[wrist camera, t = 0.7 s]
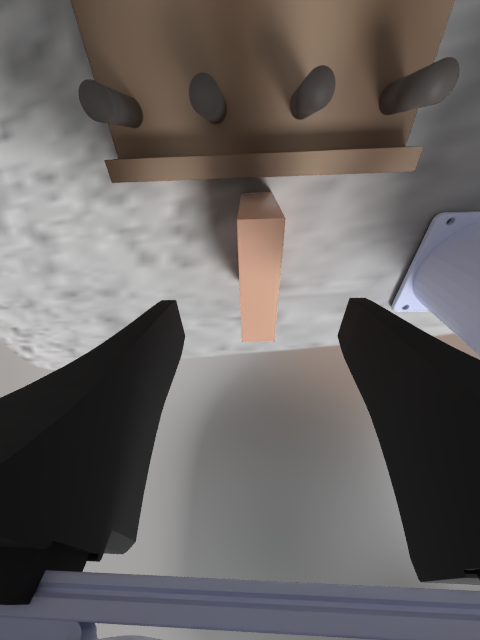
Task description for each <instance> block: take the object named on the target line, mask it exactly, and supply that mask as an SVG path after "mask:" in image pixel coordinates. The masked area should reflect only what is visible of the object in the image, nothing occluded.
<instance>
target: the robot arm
mask: <svg viewBox="0 0 480 640" xmlns="http://www.w3.org/2000/svg"><path fill="white" fill-rule="evenodd" d="M450 218H451V220H450V222H448V223H447V221H448V219H450ZM446 223H447V224H446ZM405 305H406V306H405ZM403 306H405V307H403ZM391 308H392V309H393V310H394V311H395V312H432V313H433V314H434V315H435V316H436V317H437V318H438V319H439V320H440V321H442V322H443V323H444V324H445V325H446V326H447V327H448V328H449V329H450V330H452V331H453V332H454V333H455V334H456V335H457V336H458V337H459V338H461V339H462V340H463V341H464V342H465V343H466V344H467V345H468V346H469V347H471V348H472V349H473V350H474V351H475V352H476V353H477V354H479V356H480V211H476V212H443V213H440V214H438V215H436V216H435V217H434V218H433V220H432V222H431V224H430V226H429V228H428V230H427V232H426V234H425V236H424V238H423V240H422V243H421V245H420V247H419V249H418V251H417V253H416V255H415V257H414V259H413V262H412V264H411V266H410V268H409V270H408V272H407V274H406V276H405V278H404V280H403V283H402V285H401V287H400V289H399V291H398V293H397V295H396V297H395V299H394V302H393V304H392V306H391ZM338 339H339V343H340V346H341V350H342V353H343V356H344V358H345V360H346V363H347V365H348V367H349V369H350V372H351V374H352V375H353V378H354V380H355V382H356V385H357V387H358V389H359V391H360V393H361V395H362V397H363V399H364V402H365V404H366V406H367V409H368V411H369V413H370V416H371V419H372V422H373V425H374V428H375V430H376V433H377V436H378V439H379V442H380V445H381V449H382V451H383V455H384V458H385V461H386V465H387V468H388V471H389V475H390V478H391V482H392V486H393V489H394V493H395V496H396V500H397V503H398V508H399V512H400V516H401V520H402V524H403V528H404V532H405V536H406V541H407V545H408V549H409V554H410V558H411V561H412V564H413V566H414V569H415V571H416V573H417V576H418V579H419V580H420V582H429V583H450V584H452V583H453V584H472V585H480V360H479V359H477V358H474V357H472V356H470V355H468V354H466V353H464V352H462V351H460V350H458V349H456V348H454V347H452V346H450V345H448V344H446V343H444V342H442V341H440V340H439V339H437V338H435V337H433V336H431V335H429V334H428V333H426V332H424V331H422V330H420V329H419V328H417V327H415V326H413V325H412V324H410V323H408V322H407V321H405V320H403V319H402V318H400V317H398V316H397V315H395V314H393V313H392V312H390V311H388V310H386V309H385V308H383V307H381V306H380V305H378V304H376V303H374V302H372V301H371V300H368V299H366V298H350V299H349V302H348V305H347V308H346V311H345V314H344V317H343V320H342V323H341V326H340V329H339V332H338ZM184 340H185V334H184V330H183V326H182V322H181V318H180V314H179V310H178V306H177V302H176V300H162V301H160V302H159V303H157V304H156V305H154V306H153V307H152V308H150V309H149V310H148V311H146V312H145V313H144V314H142V315H141V316H140V317H138V318H137V319H136V320H134V321H133V322H132V323H130V324H129V325H128V326H126V327H125V328H124V329H122V330H121V331H119V332H118V333H116V334H115V335H114V336H112V337H111V338H109V339H108V340H106V341H105V342H104V343H102V344H101V345H99V346H98V347H96V348H94V349H93V350H91V351H90V352H88V353H86V354H85V355H83V356H81V357H80V358H78V359H76V360H74V361H73V362H71V363H69V364H67V365H66V366H64V367H62V368H60V369H58V370H56V371H54V372H52V373H50V374H49V375H47V376H45V377H43V378H41V379H39V380H37V381H35V382H33V383H31V384H29V385H27V386H25V387H23V388H21V389H19V390H16V391H14V392H12V393H10V394H8V395H6V396H4V397H1V398H0V640H160V639H155V638H149V637H145V636H117V637H109V638H103V639H98V638H97V635H96V625H95V623H107V624H123V625H140V626H157V627H174V628H191V629H207V630H224V631H242V632H259V633H275V634H292V635H309V636H326V637H343V638H360V639H376V640H480V591H465V590H445V589H444V590H443V589H424V588H403V587H381V586H362V585H339V584H320V583H299V582H277V581H257V580H236V579H215V578H195V577H173V576H153V575H132V574H131V575H130V574H111V573H91V572H82V571H83V569H84V566H85V564H86V561H98V562H99V561H100V560H101V559H102V556H103V554H104V553H109V554H124V553H125V552H127V551H128V550H129V549H130V547H132V545H133V544H134V543H135V542H136V537H137V530H138V524H139V518H140V512H141V507H142V501H143V495H144V489H145V485H146V480H147V474H148V469H149V464H150V460H151V455H152V450H153V446H154V442H155V437H156V433H157V429H158V425H159V421H160V416H161V413H162V410H163V406H164V403H165V400H166V397H167V395H168V392H169V389H170V386H171V383H172V380H173V378H174V375H175V372H176V369H177V366H178V364H179V361H180V358H181V354H182V350H183V345H184Z"/></svg>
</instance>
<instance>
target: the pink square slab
mask: <svg viewBox="0 0 480 640" xmlns="http://www.w3.org/2000/svg"><path fill="white" fill-rule="evenodd" d="M284 228H285V217H284V215H283V213H282V211H281V209H280V207H279V205H278V203H277V201H276V199H275V198H274V196H273V194H272V192H258V193H241V199H240V204H239V210H238V216H237V236H238V260H239V285H240V309H241V334H242V342H275V332H276V320H277V309H278V297H279V286H280V274H281V263H282V251H283V240H284Z"/></svg>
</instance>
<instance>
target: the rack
mask: <svg viewBox="0 0 480 640" xmlns="http://www.w3.org/2000/svg"><path fill="white" fill-rule="evenodd" d="M454 1H455V0H71V3H72V7H73V10H74V13H75V16H76V20H77V23H78V26H79V30H80V33H81V36H82V39H83V43H84V46H85V49H86V53H87V56H88V59H89V63H90V66H91V69H92V72H93V76H94V79H95V81H93V80H85V81H83V82H82V83H81V85H80V87H79V99H80V103H81V105H82V107H83V109H84V111H85V112H86V113H87V115H88V116H89V117H91V118H92V119H93V120H95V121H98V122H103V123H108V125H109V128H110V132H111V135H112V138H113V142H114V145H115V148H116V151H117V155H118V158H119V159H114V160H104V161H105V163H106V166H107V169H108V172H109V175H110V178H111V181H112V183H120V182H146V181H172V180H199V179H225V178H251V177H277V176H304V175H330V174H356V173H383V172H409V171H415V168H416V165H417V163H418V160H419V157H420V155H421V152H422V150H423V147H424V146H420V147H405V146H406V143H407V140H408V137H409V134H410V131H411V128H412V125H413V122H414V119H415V116H416V113H417V110H418V108H421V107H425V106H429V105H434V104H437V103H439V102H441V101H442V100H443V99H445V98H446V97H447V96H448V95H449V93H450V92H451V91H452V89H453V88H454V86H455V84H456V82H457V79H458V76H459V64H458V62H457V60H456V59H454V58H451V57H448V58H444V59H442V60H440V61H437V62H435V63H434V60H435V57H436V54H437V51H438V48H439V45H440V42H441V39H442V36H443V33H444V30H445V27H446V24H447V21H448V19H449V16H450V13H451V10H452V7H453V4H454Z"/></svg>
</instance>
